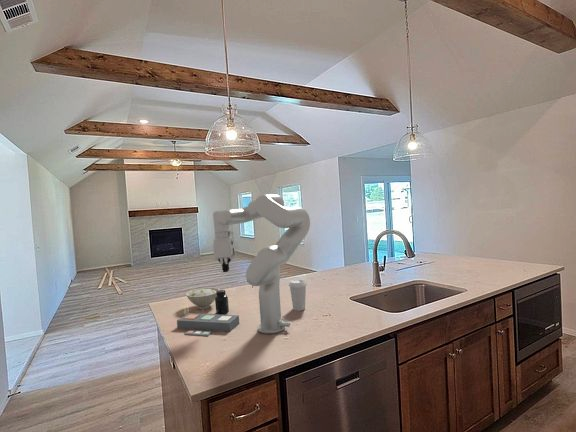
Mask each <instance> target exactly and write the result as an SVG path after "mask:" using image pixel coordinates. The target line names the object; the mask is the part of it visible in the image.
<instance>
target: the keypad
mask: <svg viewBox="0 0 576 432" xmlns="http://www.w3.org/2000/svg"><path fill="white" fill-rule="evenodd" d="M190 314H193V315H199V316H198V317H197V318H195V319H194V320H192V319H184V318H185V317H187V316H188V315H190ZM205 315H214V316H215V317H214V318H213V319H212V320H200V319H201V318H203V317H204V316H205ZM222 316H232V318H231V319H230V320H229V321H217V320H218V319H219V318H220V317H222ZM176 325H177V326H176V327H177V328H178V329H179V330H180V329H181V330H193V329H195V330H196V331H212V332H225V333H226V332H228V333H229V332H232V331H233V330H234V329H235V328H236V327H237V326H239V325H240V315H238V314H237V315H235V314H224V315H219V314H217V313H214V314H213V313H193V312H188V313H186V314H185V315H183V316H182V317H180V318H179V319H177V320H176Z"/></svg>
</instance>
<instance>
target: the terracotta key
mask: <svg viewBox="0 0 576 432" xmlns="http://www.w3.org/2000/svg"><path fill="white" fill-rule="evenodd" d="M198 316H199V315H193V314H190V315H188V316H187V317H185V318H184V319H192V320H194V319H195V318H197V317H198Z"/></svg>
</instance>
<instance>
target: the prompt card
mask: <svg viewBox="0 0 576 432" xmlns="http://www.w3.org/2000/svg"><path fill="white" fill-rule="evenodd" d="M212 333H213V331H209V330H193V329H188V330H187V331H186V332H185V333H184V335H185V336H197V335H199V337H202V336H203V337H209V336H210V335H212Z"/></svg>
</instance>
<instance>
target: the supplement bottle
mask: <svg viewBox="0 0 576 432" xmlns="http://www.w3.org/2000/svg"><path fill="white" fill-rule="evenodd" d="M216 295H217V296H216V297H215V300H214V302H215V303H214V304H215V312H216V313H215V314H219V315H228V313H229V311H230V308H229V297H228V295H227V294H226V290H225V289H220V290H219V291H216Z"/></svg>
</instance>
